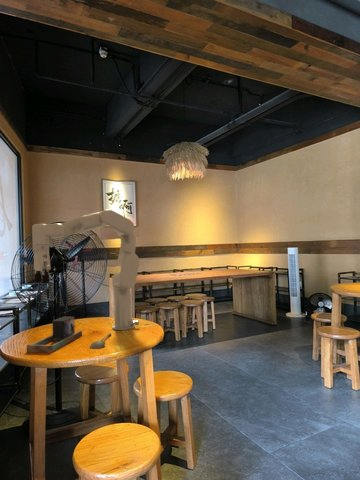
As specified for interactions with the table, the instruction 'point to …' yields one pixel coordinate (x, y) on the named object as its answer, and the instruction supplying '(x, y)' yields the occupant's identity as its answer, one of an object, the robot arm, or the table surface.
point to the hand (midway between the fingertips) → (41, 282)
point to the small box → (63, 328)
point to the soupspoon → (99, 343)
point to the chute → (43, 348)
